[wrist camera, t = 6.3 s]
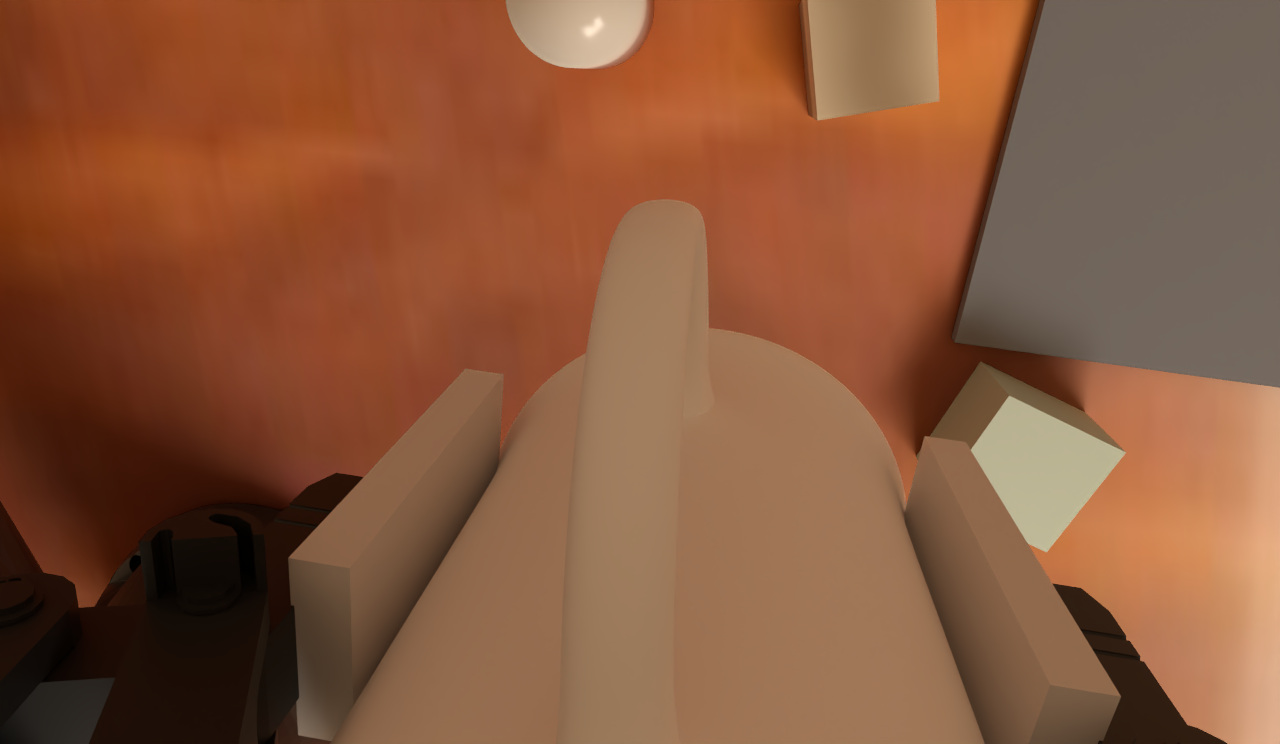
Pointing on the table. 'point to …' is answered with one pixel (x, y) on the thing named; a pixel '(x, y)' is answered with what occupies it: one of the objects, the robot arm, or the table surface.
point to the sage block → (1030, 450)
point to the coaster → (1138, 192)
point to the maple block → (868, 55)
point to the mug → (676, 550)
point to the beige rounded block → (582, 30)
